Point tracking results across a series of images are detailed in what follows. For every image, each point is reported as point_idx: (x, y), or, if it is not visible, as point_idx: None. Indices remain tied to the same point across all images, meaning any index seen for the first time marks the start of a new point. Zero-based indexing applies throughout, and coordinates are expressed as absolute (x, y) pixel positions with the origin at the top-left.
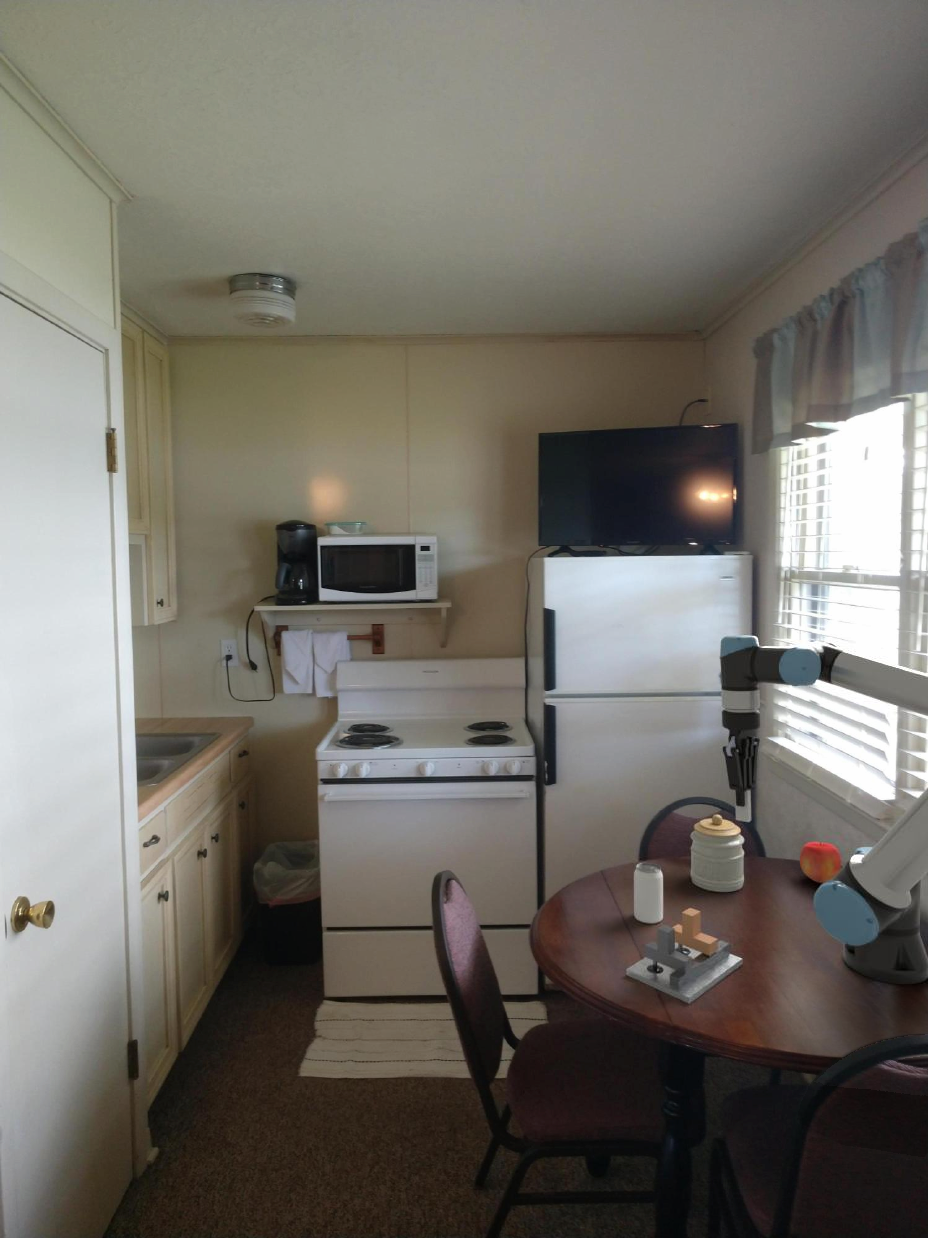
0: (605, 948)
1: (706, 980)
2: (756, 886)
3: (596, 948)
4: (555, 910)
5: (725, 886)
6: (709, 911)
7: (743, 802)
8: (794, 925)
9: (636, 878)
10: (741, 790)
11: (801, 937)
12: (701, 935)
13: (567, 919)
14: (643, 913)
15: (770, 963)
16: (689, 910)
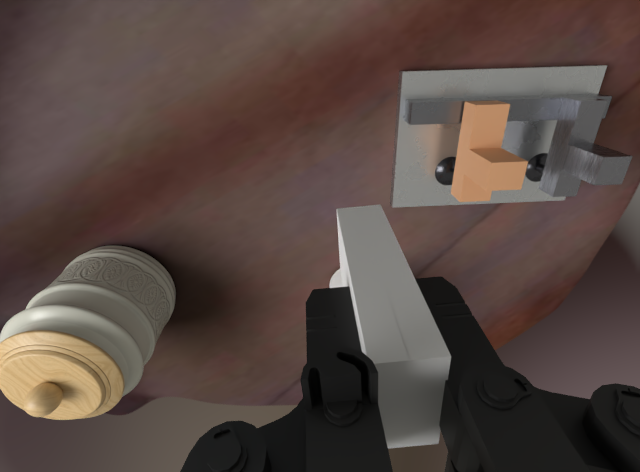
0: (493, 266)
1: (529, 77)
2: (64, 231)
3: (501, 274)
4: None
5: (146, 261)
6: (246, 232)
7: (440, 299)
8: (151, 79)
9: None
10: (621, 385)
11: (190, 36)
12: (481, 139)
13: None
14: None
15: (354, 28)
16: (501, 183)
